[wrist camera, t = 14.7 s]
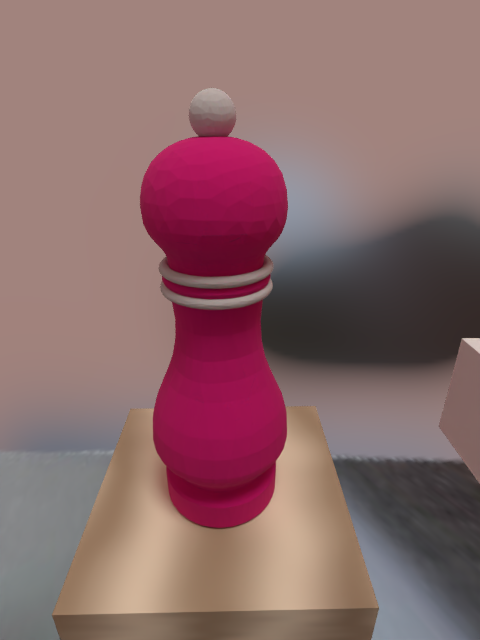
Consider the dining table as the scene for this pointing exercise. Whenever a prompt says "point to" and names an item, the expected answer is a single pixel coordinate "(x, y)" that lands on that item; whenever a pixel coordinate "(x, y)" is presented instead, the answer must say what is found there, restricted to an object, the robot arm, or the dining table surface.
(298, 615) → the birch block
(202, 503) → the pepper mill
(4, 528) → the dining table surface
